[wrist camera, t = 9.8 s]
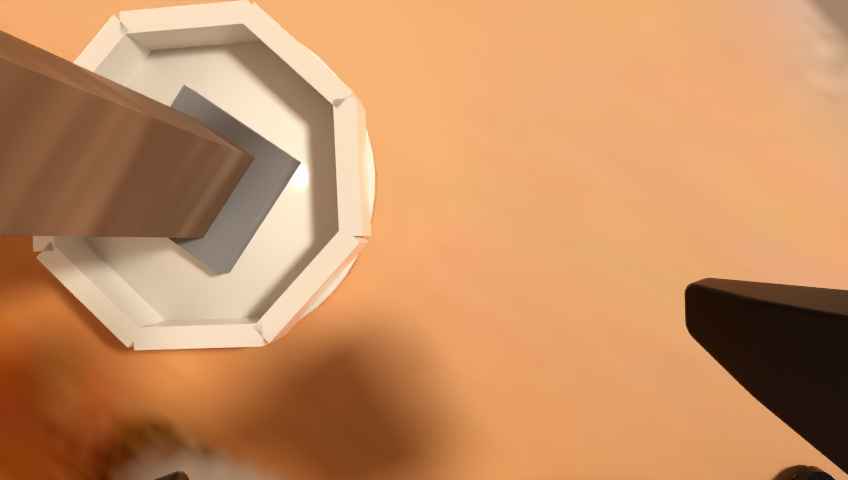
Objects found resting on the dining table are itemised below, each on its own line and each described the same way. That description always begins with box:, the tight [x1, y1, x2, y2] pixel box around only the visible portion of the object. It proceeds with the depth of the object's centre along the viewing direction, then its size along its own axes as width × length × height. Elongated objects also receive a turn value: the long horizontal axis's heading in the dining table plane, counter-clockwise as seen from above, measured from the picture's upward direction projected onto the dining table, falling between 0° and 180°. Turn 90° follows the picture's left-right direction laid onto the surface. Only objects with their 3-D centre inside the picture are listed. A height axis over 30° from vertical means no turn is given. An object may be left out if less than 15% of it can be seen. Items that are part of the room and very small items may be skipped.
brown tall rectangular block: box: [0, 30, 301, 274], centre depth 13 cm, size 5×5×12 cm
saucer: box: [33, 0, 376, 350], centre depth 19 cm, size 12×12×2 cm
